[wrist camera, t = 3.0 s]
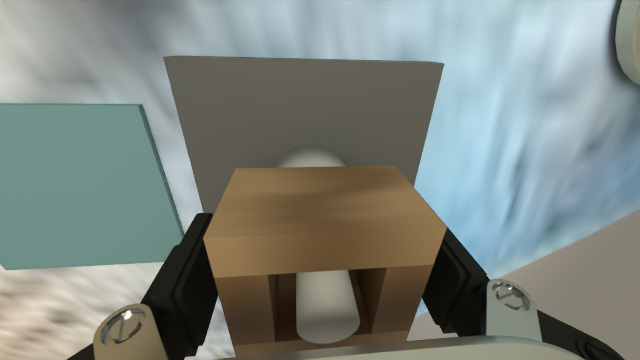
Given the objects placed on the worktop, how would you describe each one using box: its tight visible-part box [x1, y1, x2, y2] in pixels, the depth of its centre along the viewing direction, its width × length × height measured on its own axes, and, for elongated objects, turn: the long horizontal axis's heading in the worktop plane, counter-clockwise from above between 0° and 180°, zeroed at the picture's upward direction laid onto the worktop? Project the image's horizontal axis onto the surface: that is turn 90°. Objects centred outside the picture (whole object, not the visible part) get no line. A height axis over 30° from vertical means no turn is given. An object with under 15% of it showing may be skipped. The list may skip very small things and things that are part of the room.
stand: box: [163, 56, 444, 344], centre depth 12 cm, size 14×14×11 cm
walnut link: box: [203, 165, 447, 357], centre depth 10 cm, size 7×7×4 cm
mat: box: [0, 103, 184, 270], centre depth 16 cm, size 13×12×1 cm
